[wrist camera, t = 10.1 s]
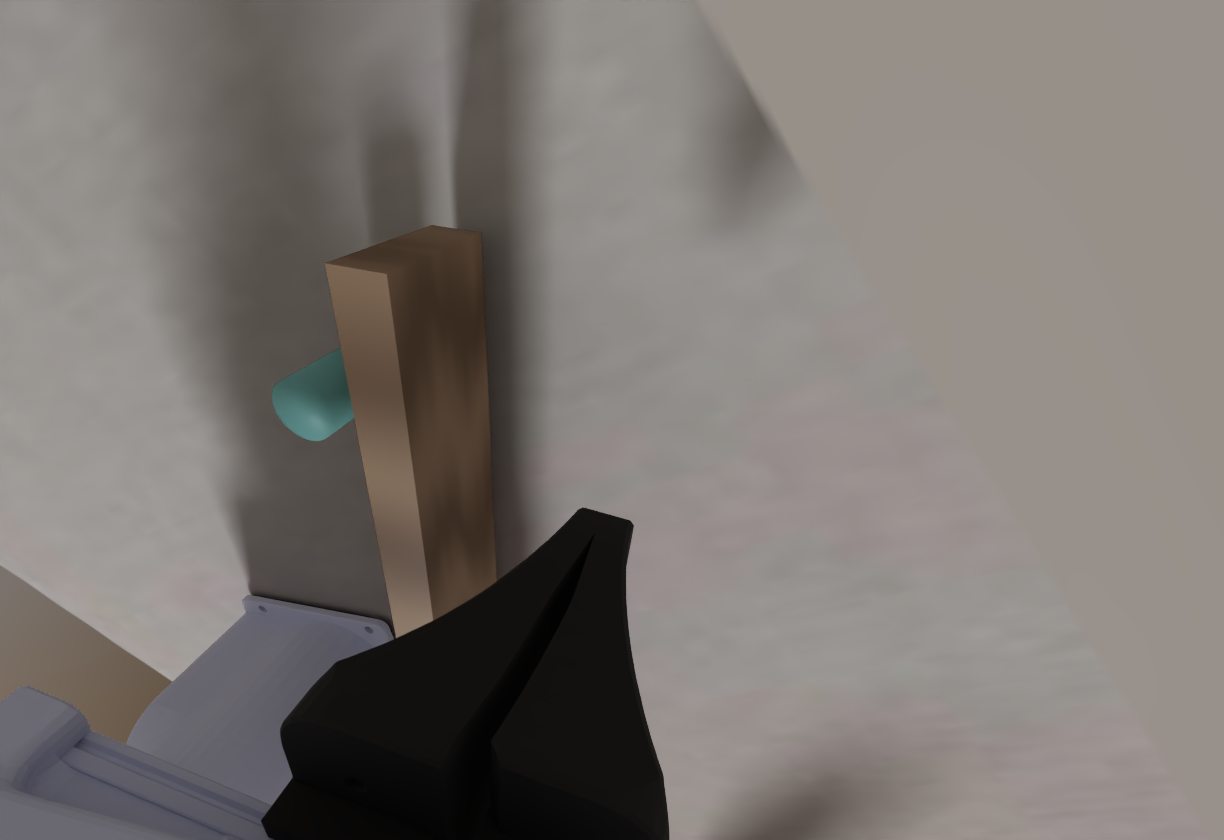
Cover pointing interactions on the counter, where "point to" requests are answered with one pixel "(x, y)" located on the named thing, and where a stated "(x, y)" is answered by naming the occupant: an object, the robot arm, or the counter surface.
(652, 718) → the counter surface
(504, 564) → the counter surface
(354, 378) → the wooden plank
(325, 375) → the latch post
